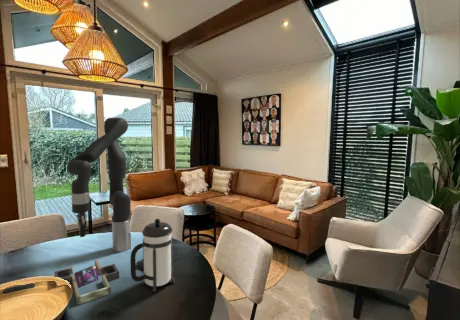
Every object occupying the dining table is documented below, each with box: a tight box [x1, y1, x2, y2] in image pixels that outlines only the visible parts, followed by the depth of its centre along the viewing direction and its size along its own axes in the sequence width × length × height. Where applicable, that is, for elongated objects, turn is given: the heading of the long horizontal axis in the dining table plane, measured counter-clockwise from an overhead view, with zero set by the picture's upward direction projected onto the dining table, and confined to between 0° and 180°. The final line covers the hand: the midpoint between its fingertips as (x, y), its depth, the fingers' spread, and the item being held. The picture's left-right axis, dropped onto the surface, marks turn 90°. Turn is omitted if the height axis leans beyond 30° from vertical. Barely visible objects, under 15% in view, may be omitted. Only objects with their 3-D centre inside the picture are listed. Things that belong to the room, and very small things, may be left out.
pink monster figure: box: [73, 264, 99, 289], centre depth 117 cm, size 7×5×9 cm
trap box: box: [54, 258, 120, 305], centre depth 117 cm, size 24×30×3 cm
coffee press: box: [130, 218, 176, 293], centre depth 114 cm, size 17×16×30 cm
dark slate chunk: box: [136, 247, 181, 270], centre depth 137 cm, size 15×22×5 cm
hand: (82, 236), depth 126 cm, fingers closed
